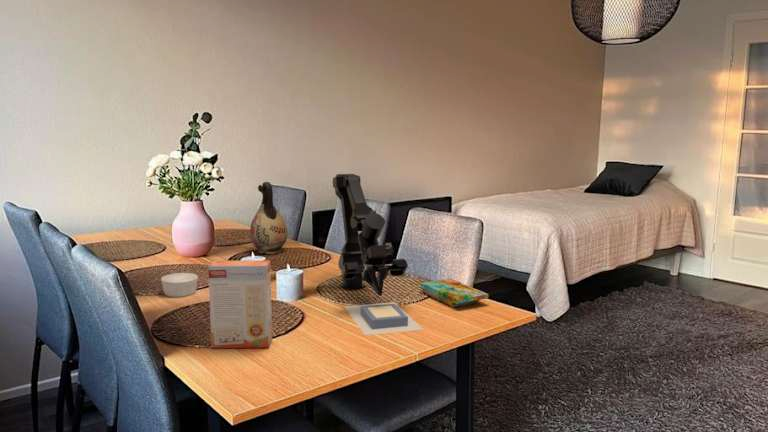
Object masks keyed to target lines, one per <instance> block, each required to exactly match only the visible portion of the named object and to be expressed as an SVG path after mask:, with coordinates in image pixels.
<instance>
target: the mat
mask: <svg viewBox="0 0 768 432" xmlns="http://www.w3.org/2000/svg"><path fill="white" fill-rule="evenodd" d="M385 304H395V305H396V306H397V307H398V308H399V309H400V310H401V311H402V312H403V313H404V314H405V315H406V316H407V317H408V326H400V327H389V328H379V329H372V328H371V327H370V326H369V324H368V323H367V322H366V321H365V319H364V318H363V317H362V316H361V306H373V305H385ZM343 308H344V309H345V310H346V311H347V313H348V314H349V315H350V317H351V319H352V320H353V321H354V322H355V324H356V325H357V327H359V329H360V331H361V332H362V333H363V334H364V335H365V336H371V335H380V334H381V335H382V334H389V333H390V334H391V333H401V332H403V333H404V332H411V331H413V332H414V331H421V330H424V328H422V327H421V326H420V325H419V324H418V323H417V322H416V321H415V320H414V319H413V317H411V316H410V315H409V314H408V313H407V312H406V311H405V310H403V308H402V307H401V306H399V304H397V302H396V301H392V302H391V301H390V302H379V303H369V304H368V303H367V304H357V305H356V304H354V305H345V306H343Z"/></svg>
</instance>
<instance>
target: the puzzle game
mask: <svg viewBox="0 0 768 432" xmlns="http://www.w3.org/2000/svg"><path fill="white" fill-rule="evenodd" d="M419 288H420V290H421V291H422V293H424V294H425V295H426V296H429V297H430V298H432V299H435V300H437V301H439V302H442V303H444V304H445V305H448V306H450V307H452V308H454V307H460V306H464V305H465V306H466V305H471V304H475V303H478V302H479V301H480V300H487V299H489V293H486V292H484V291H482V290H479V289H478V288H477V289H476V288H474V287H472V286H470V285H467V284H465V283H462V282H461V281H458V280H455V279H453V278H445V279H438V280H431V281H425V282H420V283H419Z"/></svg>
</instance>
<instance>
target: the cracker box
mask: <svg viewBox="0 0 768 432" xmlns="http://www.w3.org/2000/svg"><path fill="white" fill-rule="evenodd" d="M207 269H208V292H209V293H208V295H209V296H208V297H209V298H208V299H209V318H210V319H209V321H210V342H211V343H210V344H211V348H212V349H249V348H250V349H253V348H254V349H258V348H260V349H268V348H269V347H270V345H271V343H272V341H273V320H272V319H273V317H272V316H273V313H272V309H273V308H272V280H271V279H272V278H271V277H272V275H271V260H214V261H212V262H211V263H210V264H209V265H208V268H207Z"/></svg>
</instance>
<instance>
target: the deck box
mask: <svg viewBox="0 0 768 432" xmlns="http://www.w3.org/2000/svg"><path fill="white" fill-rule="evenodd" d="M361 316H362V317H363V318H364V319H365V321H366V322H367V323H368V324H369V326H370V327H371V328H372V329H379V328H389V327H400V326H408V317H407V316H406V315H405V314H404V313H403V312H402V311H401V310H400V309H399V308H398V307H397V306H396V305H395V304H385V305H373V306H361Z"/></svg>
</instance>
